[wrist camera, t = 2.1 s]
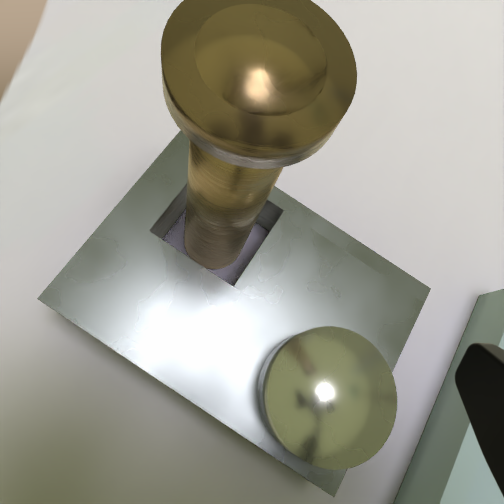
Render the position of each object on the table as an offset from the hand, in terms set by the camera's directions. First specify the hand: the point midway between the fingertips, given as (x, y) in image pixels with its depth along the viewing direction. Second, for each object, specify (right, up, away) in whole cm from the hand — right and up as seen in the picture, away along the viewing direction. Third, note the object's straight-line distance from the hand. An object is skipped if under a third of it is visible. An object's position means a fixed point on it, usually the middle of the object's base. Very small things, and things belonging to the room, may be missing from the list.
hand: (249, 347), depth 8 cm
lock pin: (-2, +2, +14) cm, 14 cm away
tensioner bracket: (-1, -1, +13) cm, 13 cm away
